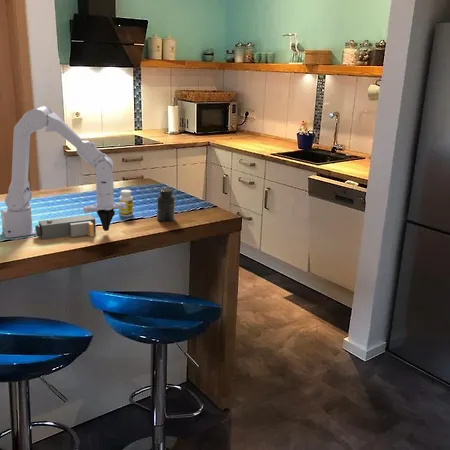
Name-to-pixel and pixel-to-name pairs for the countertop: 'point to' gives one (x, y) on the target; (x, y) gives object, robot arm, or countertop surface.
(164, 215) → the supplement bottle
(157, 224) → the countertop surface
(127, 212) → the supplement bottle
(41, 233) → the gray sliding door box
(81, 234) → the side door
